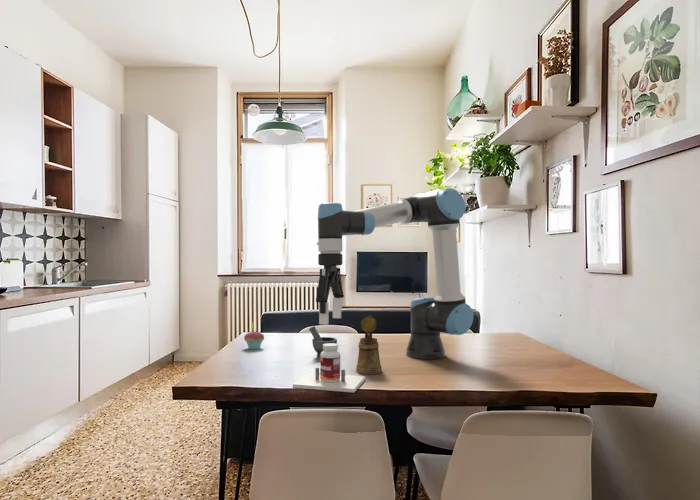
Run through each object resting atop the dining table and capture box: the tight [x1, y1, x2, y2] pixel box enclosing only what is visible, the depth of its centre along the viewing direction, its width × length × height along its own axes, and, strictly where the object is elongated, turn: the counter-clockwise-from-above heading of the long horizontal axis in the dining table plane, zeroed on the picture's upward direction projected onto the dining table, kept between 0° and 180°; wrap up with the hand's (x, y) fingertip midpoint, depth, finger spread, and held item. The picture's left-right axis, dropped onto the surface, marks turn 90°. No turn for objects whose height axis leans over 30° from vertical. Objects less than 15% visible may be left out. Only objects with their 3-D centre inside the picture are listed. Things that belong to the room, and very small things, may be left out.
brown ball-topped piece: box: [355, 315, 383, 375], centre depth 153 cm, size 9×14×18 cm, turn 176°
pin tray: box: [292, 367, 366, 394], centre depth 136 cm, size 19×14×4 cm
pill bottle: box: [319, 343, 341, 382], centre depth 136 cm, size 6×6×11 cm
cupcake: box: [243, 322, 265, 350], centre depth 190 cm, size 9×8×12 cm
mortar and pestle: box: [308, 325, 338, 359], centre depth 173 cm, size 11×9×12 cm
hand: (330, 321), depth 136 cm, fingers open, 13 cm apart
